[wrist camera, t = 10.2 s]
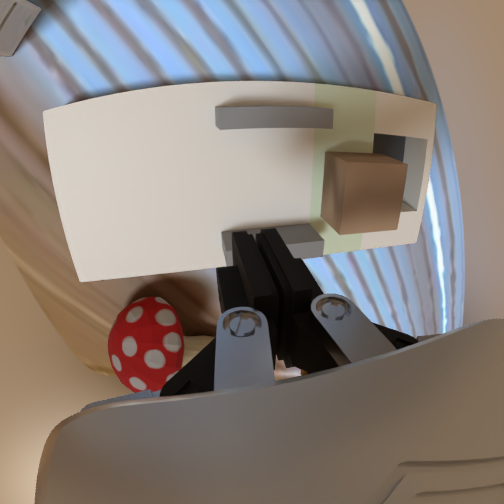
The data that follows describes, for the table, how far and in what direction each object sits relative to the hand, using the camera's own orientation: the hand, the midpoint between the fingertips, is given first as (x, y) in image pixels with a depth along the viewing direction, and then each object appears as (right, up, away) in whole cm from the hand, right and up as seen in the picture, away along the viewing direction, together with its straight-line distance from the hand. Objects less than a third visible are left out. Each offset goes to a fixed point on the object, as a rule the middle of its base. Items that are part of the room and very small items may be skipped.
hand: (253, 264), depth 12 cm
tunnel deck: (0, +8, +16) cm, 18 cm away
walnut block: (+9, +7, +14) cm, 18 cm away
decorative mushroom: (-10, -9, +23) cm, 27 cm away
